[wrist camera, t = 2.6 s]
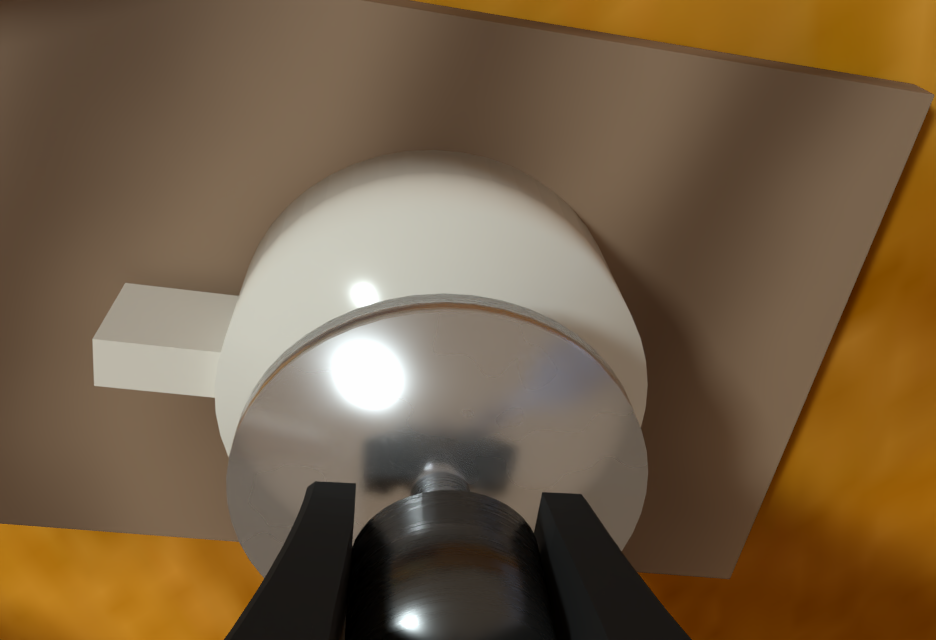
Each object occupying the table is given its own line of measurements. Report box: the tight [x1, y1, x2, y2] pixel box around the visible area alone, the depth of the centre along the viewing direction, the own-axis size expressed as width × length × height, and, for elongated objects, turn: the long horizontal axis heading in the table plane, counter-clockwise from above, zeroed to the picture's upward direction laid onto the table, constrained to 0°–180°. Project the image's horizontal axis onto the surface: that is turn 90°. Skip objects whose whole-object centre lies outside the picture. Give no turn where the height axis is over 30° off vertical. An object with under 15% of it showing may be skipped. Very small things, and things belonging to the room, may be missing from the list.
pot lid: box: [226, 293, 648, 640], centre depth 13 cm, size 7×7×4 cm
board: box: [0, 0, 934, 579], centre depth 19 cm, size 20×13×1 cm, turn 80°
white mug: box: [92, 150, 648, 457], centre depth 18 cm, size 10×8×3 cm
